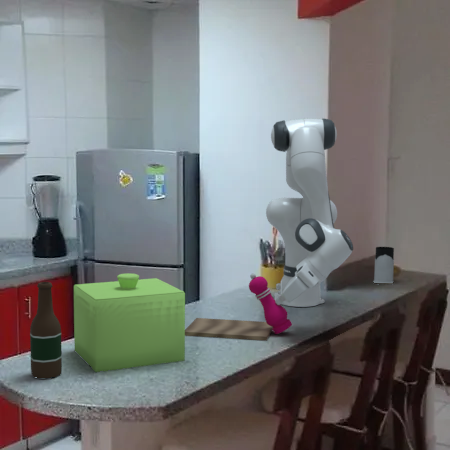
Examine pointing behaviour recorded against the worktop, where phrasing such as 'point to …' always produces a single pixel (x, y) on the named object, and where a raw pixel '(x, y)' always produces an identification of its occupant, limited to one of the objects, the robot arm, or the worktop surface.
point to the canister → (129, 323)
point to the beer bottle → (45, 337)
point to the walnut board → (229, 329)
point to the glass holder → (384, 265)
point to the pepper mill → (269, 305)
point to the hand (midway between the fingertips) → (277, 302)
